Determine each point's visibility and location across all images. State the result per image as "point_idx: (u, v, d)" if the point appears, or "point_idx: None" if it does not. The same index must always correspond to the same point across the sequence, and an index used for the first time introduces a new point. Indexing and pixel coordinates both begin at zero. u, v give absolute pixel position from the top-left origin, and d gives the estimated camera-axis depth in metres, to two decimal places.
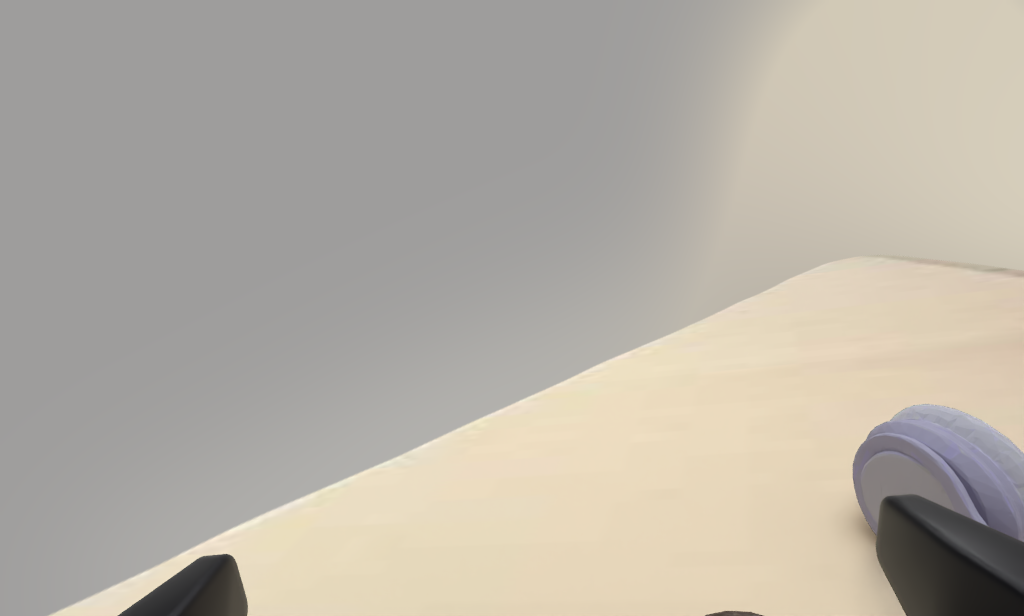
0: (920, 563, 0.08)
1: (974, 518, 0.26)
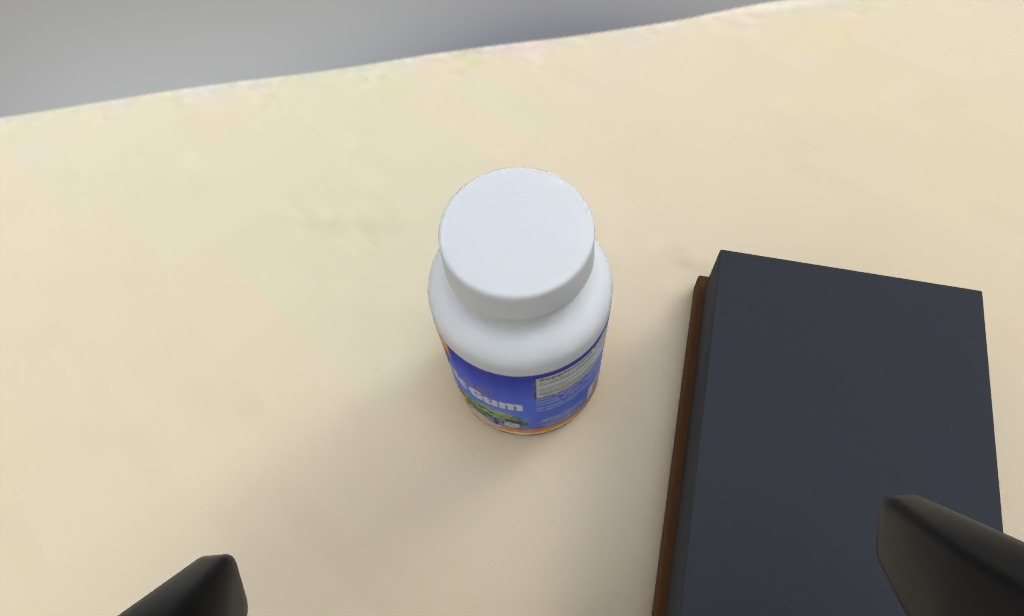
0: (920, 563, 0.08)
1: None
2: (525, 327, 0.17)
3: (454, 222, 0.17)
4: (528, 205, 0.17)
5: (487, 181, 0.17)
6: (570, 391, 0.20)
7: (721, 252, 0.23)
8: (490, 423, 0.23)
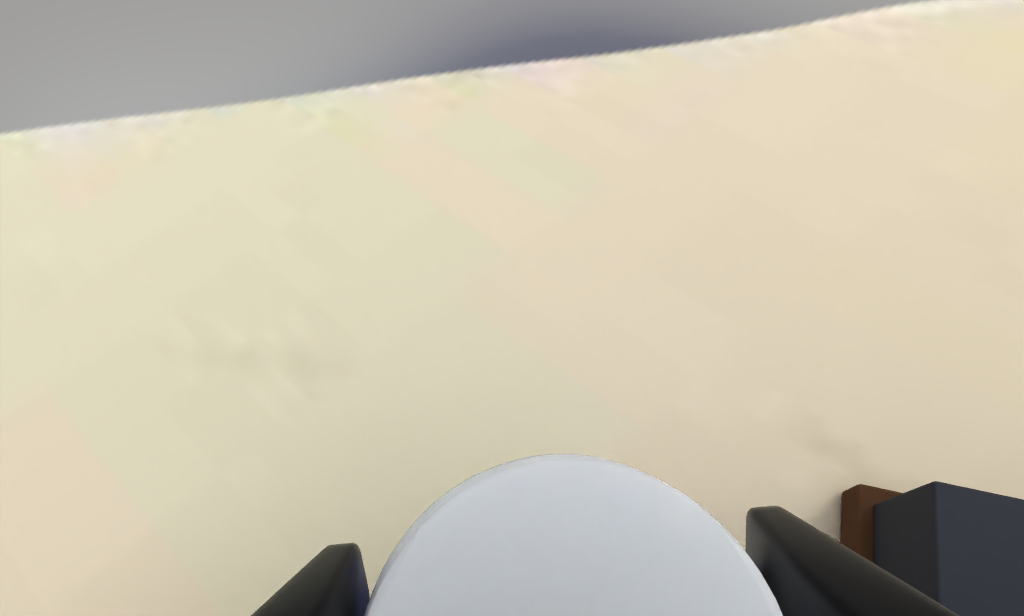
0: (772, 576, 0.08)
1: None
2: None
3: None
4: (609, 600, 0.06)
5: (492, 507, 0.06)
6: None
7: (936, 487, 0.12)
8: None
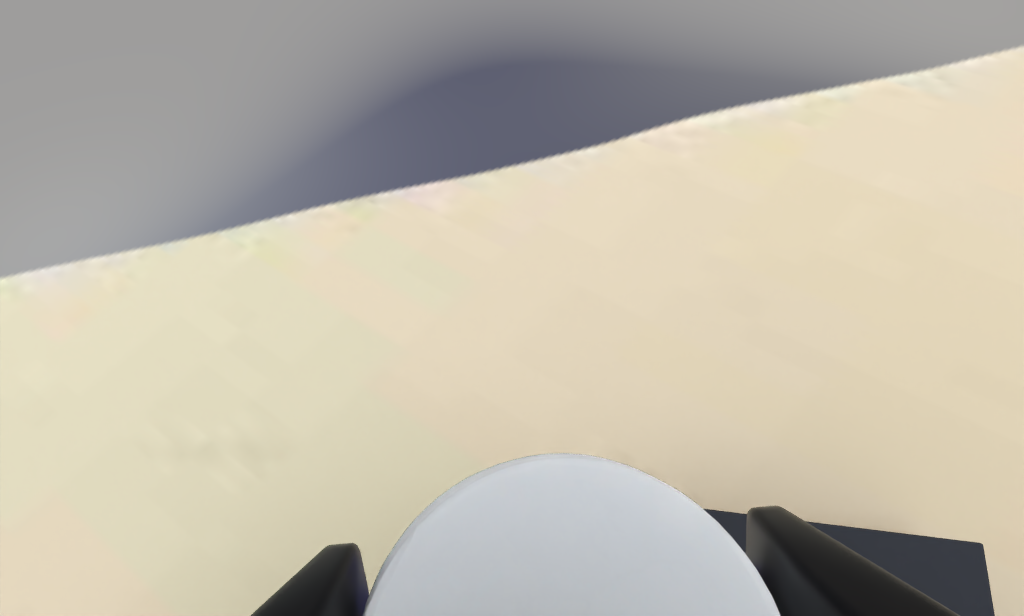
0: (772, 576, 0.08)
1: None
2: None
3: None
4: (606, 598, 0.06)
5: (489, 506, 0.06)
6: None
7: None
8: None
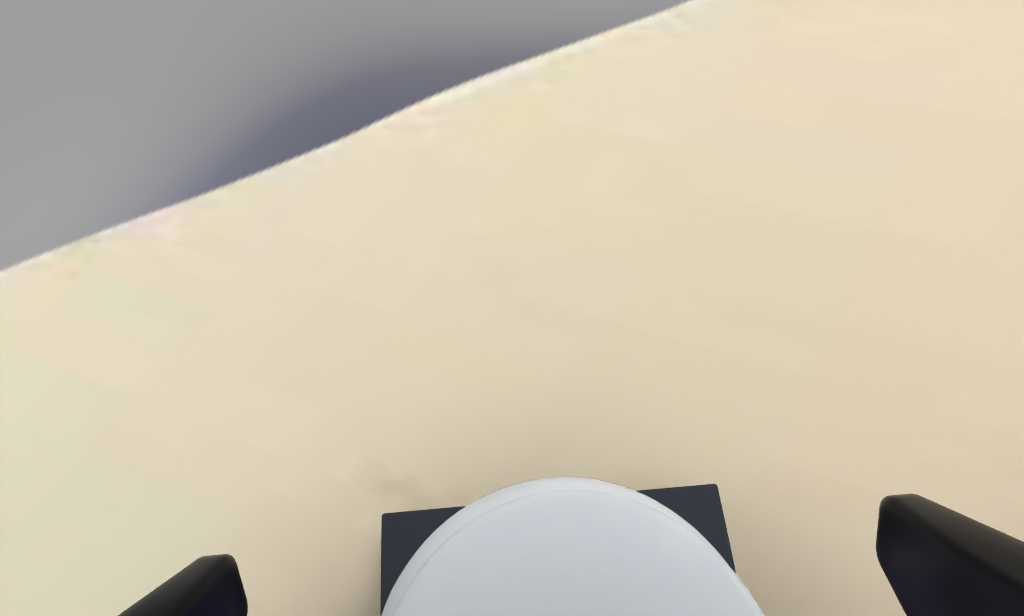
0: (920, 564, 0.08)
1: None
2: None
3: None
4: None
5: (499, 538, 0.07)
6: None
7: (382, 519, 0.16)
8: None
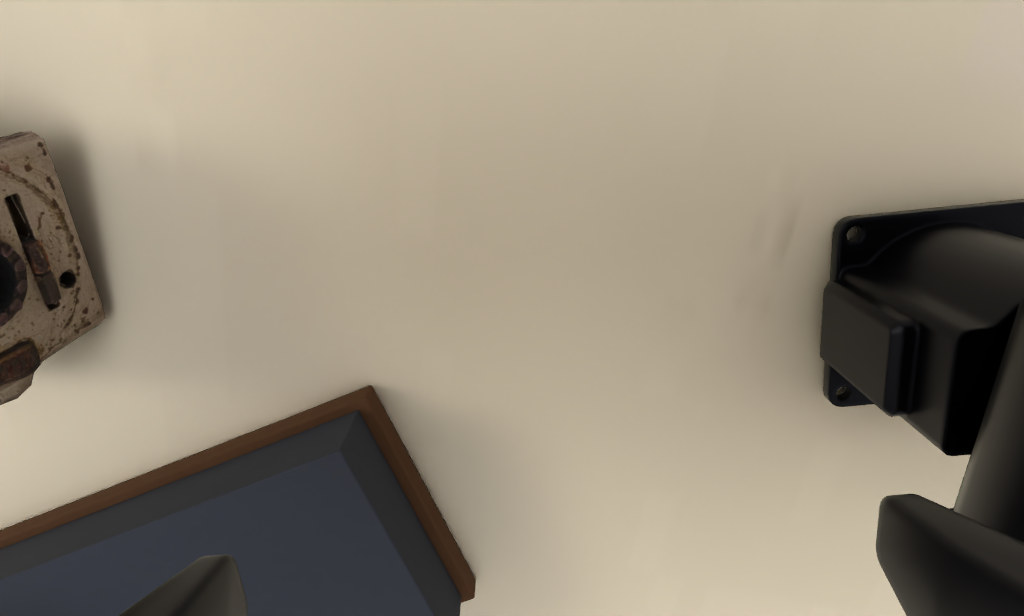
0: (920, 563, 0.08)
1: None
2: None
3: None
4: None
5: None
6: None
7: None
8: None
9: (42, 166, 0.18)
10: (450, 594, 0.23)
